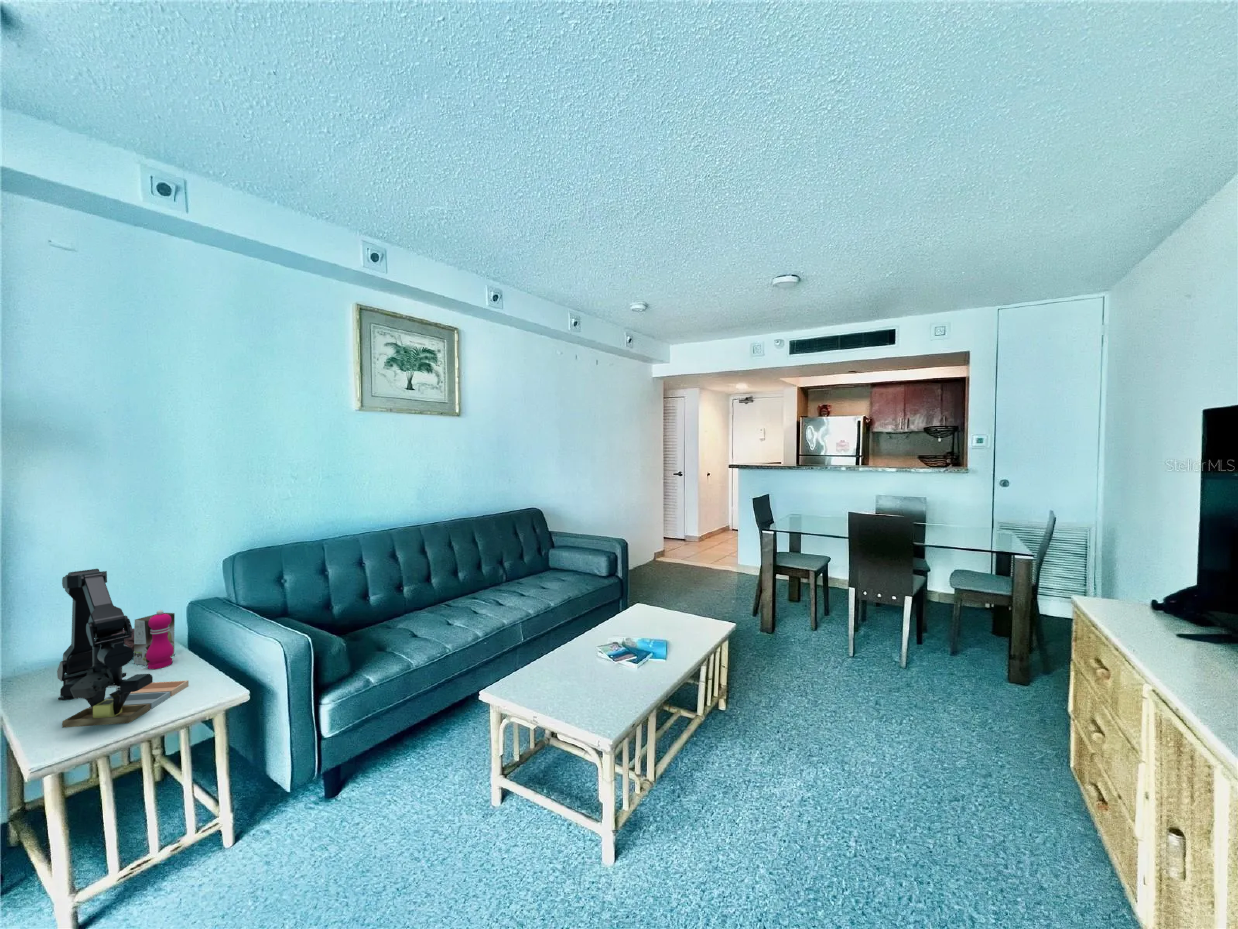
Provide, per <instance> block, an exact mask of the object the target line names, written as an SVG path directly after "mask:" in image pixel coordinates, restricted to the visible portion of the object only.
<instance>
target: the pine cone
mask: <svg viewBox="0 0 1238 929" xmlns="http://www.w3.org/2000/svg"><path fill="white" fill-rule="evenodd" d="M132 629H133V632H132V634H131V635H132V637H131V638H127V639H124V643H125V645H127V646H128V647H130V648H131V649H132V650H133V652H134V628H133V627H132ZM122 633H125V631H124V628H123V631H122ZM118 634H121V633H118ZM114 635H117V634H114Z"/></svg>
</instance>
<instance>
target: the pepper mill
mask: <svg viewBox="0 0 1238 929" xmlns="http://www.w3.org/2000/svg"><path fill="white" fill-rule="evenodd" d="M163 613H164V610H163V609H158V610H156V614H157V615H155V616H153V617H151V618H150V620H149V622H148V625H149V627H150V628H152V629H151V630H150V631H151V632H150V634H152V643H151V645H150V647H149V649H148V650H147V653H146V659H147V660H149V661H150V662H149V663H148V665H147V669H149V670H157V669H158V670H159V669H162V668H167V667H168V666H170V665H172V664H173V658H172V657H173V656H172V654H173V653H174V654H175V647H174V648H173V646H172V644H171V643H170V641H169V640H168V631H169V630H170V629H169V628H170V627H169V626H168V625H169V624H170V623H171V616H170V615H168V614H163ZM171 656H172V657H171Z"/></svg>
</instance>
